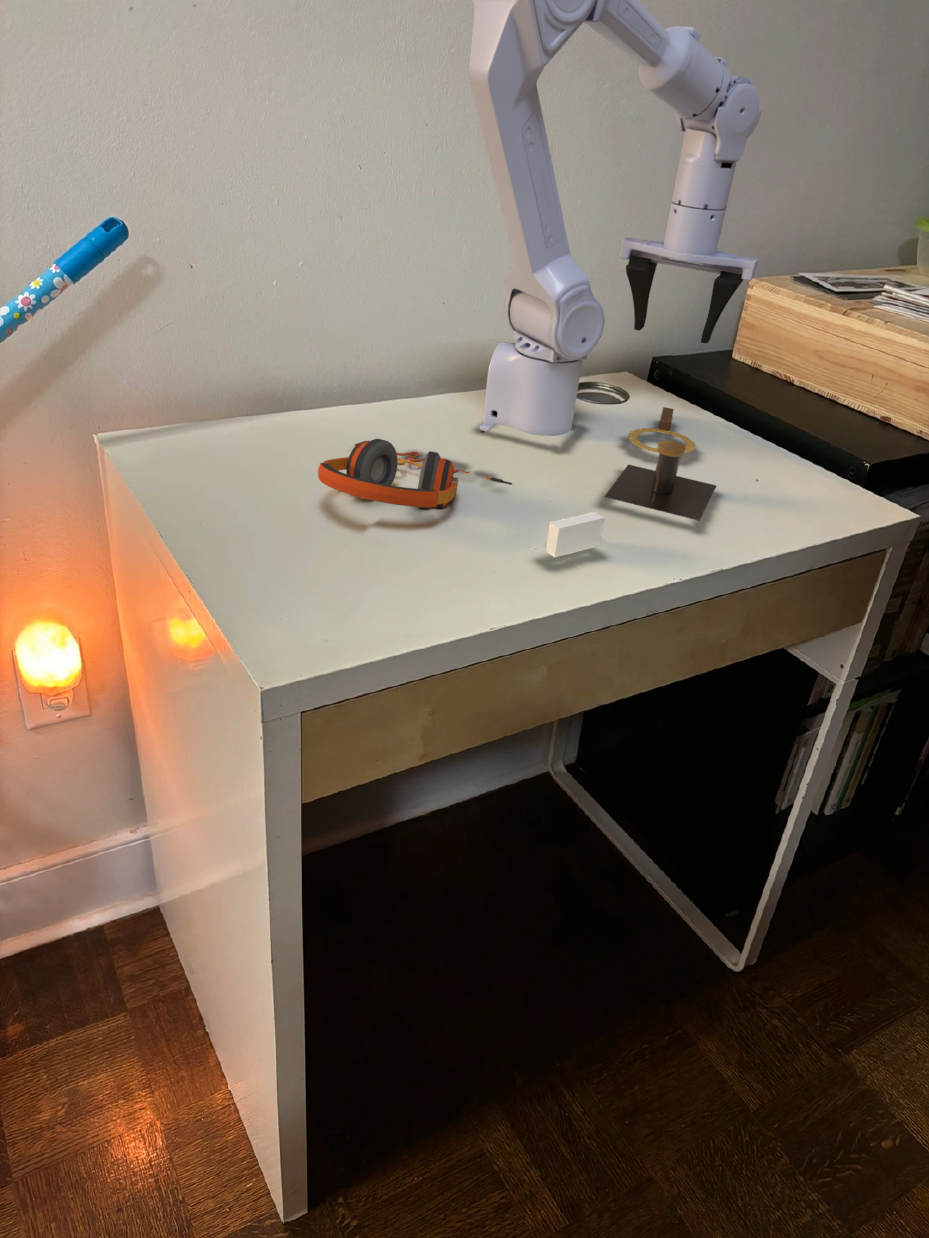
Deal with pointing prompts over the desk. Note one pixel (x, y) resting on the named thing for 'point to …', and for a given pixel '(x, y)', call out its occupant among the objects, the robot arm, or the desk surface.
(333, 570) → the desk surface
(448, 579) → the desk surface
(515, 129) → the robot arm
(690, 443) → the ring
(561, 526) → the eraser
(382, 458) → the headphones
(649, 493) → the stand
